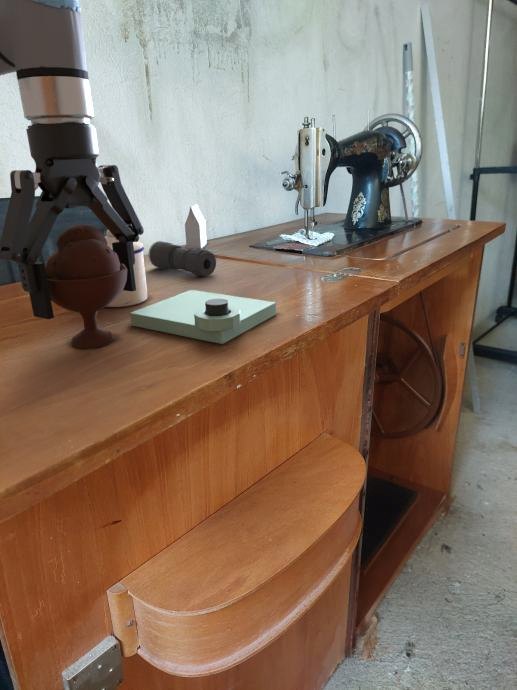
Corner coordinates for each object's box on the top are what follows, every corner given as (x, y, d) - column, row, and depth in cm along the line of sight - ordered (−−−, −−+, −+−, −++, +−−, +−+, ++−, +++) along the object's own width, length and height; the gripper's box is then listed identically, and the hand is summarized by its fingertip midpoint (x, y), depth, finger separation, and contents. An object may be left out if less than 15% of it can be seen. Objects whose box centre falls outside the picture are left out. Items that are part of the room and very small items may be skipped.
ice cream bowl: (36, 340, 69) (15, 226, 64) (114, 322, 76) (100, 217, 70) (66, 363, 61) (44, 236, 56) (150, 340, 68) (137, 224, 63)
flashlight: (219, 274, 102) (218, 247, 100) (199, 280, 98) (197, 251, 96) (169, 264, 111) (167, 239, 110) (149, 269, 108) (147, 243, 106)
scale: (126, 327, 73) (123, 303, 72) (191, 300, 85) (190, 280, 84) (224, 348, 65) (222, 321, 64) (281, 315, 77) (281, 292, 75)
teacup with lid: (153, 292, 91) (146, 224, 86) (143, 307, 82) (135, 233, 78) (84, 294, 90) (74, 226, 86) (68, 309, 82) (55, 235, 78)
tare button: (201, 316, 67) (200, 303, 66) (214, 309, 69) (214, 297, 69) (220, 319, 66) (219, 306, 65) (233, 313, 68) (232, 300, 67)
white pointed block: (206, 243, 134) (204, 204, 131) (201, 248, 128) (198, 207, 125) (192, 243, 135) (190, 204, 131) (186, 248, 129) (183, 207, 125)
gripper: (117, 126, 71) (136, 278, 78) (-69, 122, 51) (-21, 326, 58) (159, 123, 67) (174, 283, 74) (-25, 117, 47) (21, 336, 55)
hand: (89, 302), depth 66 cm, fingers open, 13 cm apart
